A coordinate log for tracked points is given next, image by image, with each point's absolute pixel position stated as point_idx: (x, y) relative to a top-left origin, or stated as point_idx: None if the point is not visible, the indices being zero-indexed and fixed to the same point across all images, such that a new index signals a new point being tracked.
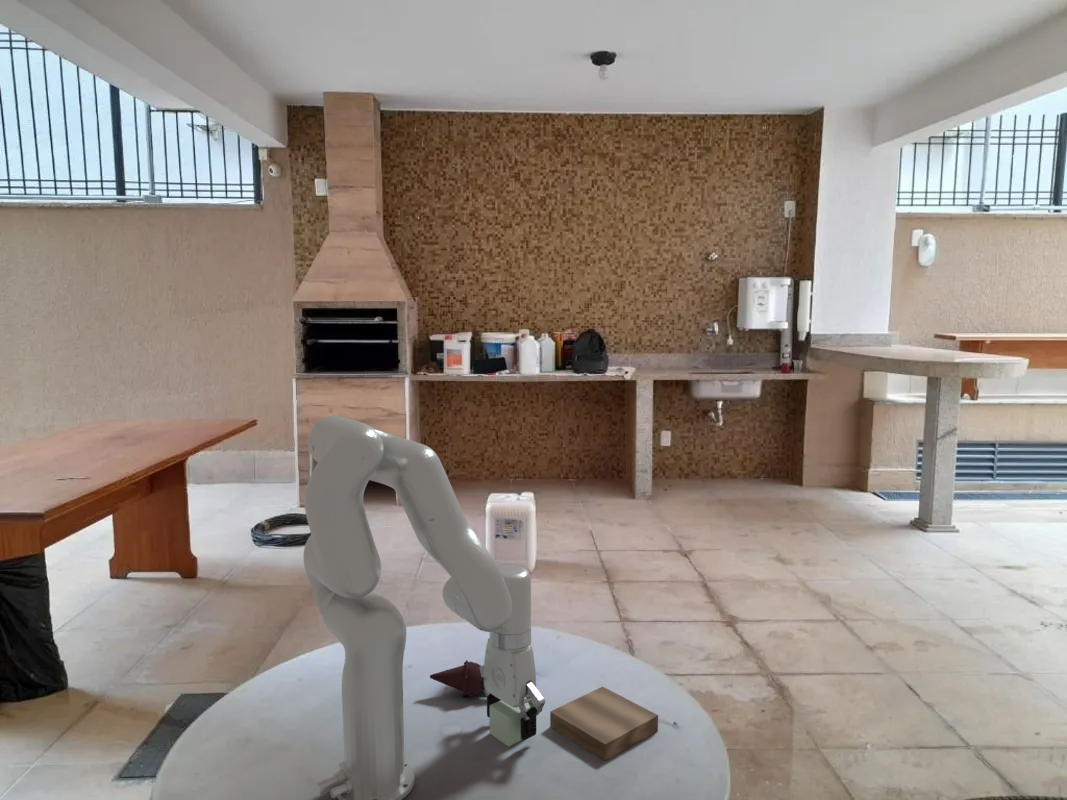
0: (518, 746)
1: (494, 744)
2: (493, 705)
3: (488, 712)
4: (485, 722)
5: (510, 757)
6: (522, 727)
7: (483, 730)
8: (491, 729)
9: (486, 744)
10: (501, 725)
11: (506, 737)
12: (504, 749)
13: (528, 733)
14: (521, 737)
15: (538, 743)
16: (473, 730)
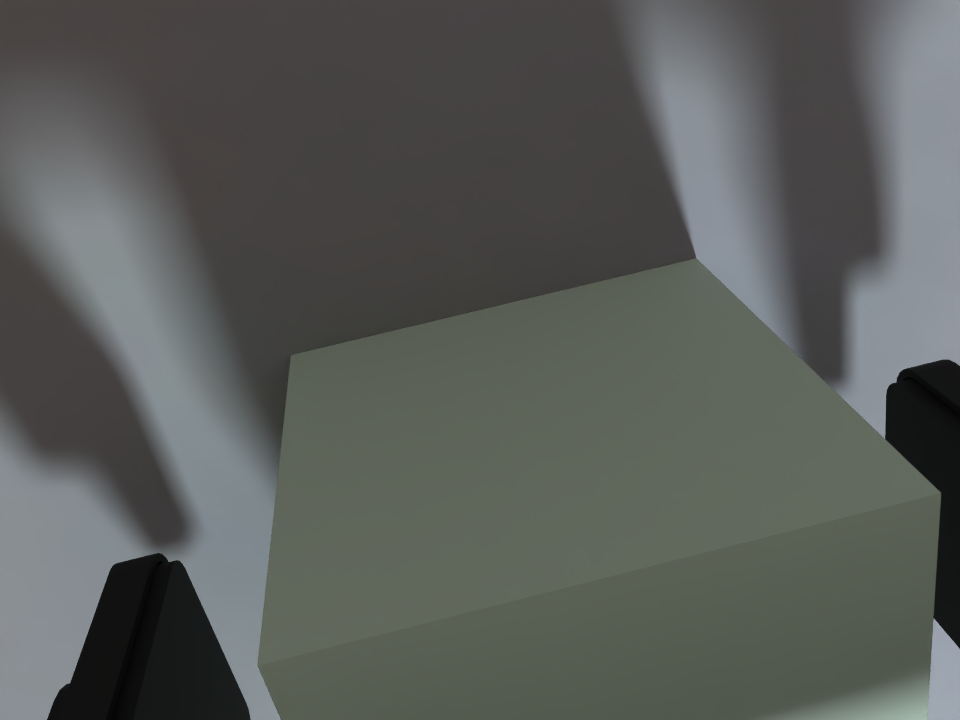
0: (238, 457)
1: (426, 207)
2: (879, 557)
3: (955, 401)
4: (934, 307)
5: (24, 275)
6: (67, 716)
7: (804, 211)
8: (682, 295)
9: (484, 104)
10: (474, 440)
11: (336, 395)
12: (249, 280)
13: (59, 700)
14: (135, 572)
15: None
16: (895, 85)
